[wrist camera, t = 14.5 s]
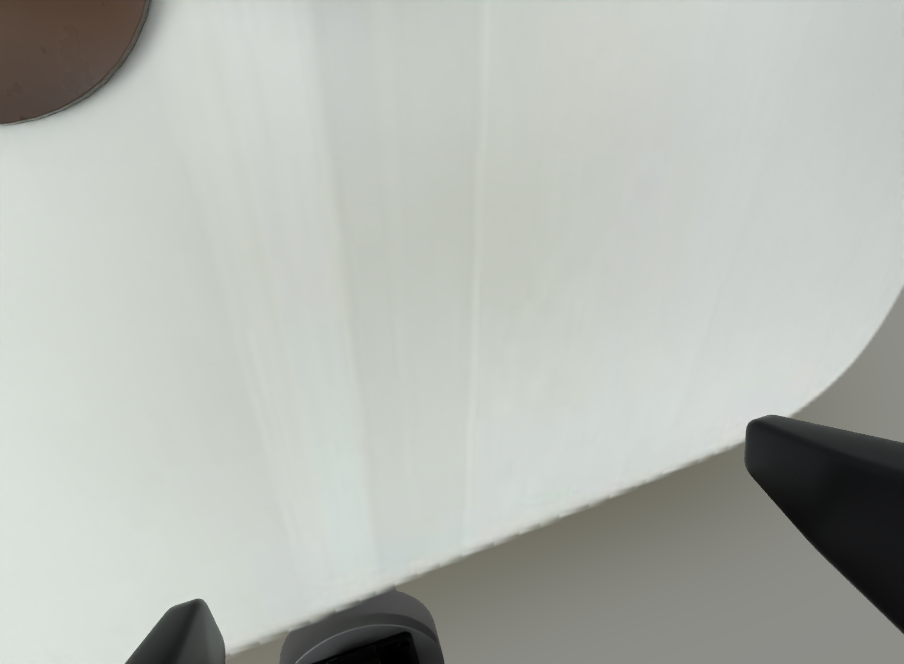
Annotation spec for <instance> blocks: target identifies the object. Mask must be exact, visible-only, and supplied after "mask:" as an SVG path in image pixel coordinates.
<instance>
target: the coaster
mask: <svg viewBox="0 0 904 664" xmlns="http://www.w3.org/2000/svg"><path fill="white" fill-rule="evenodd" d="M149 3H150V0H0V125H10V124H17V123H22V122H27V121H32V120H36V119H41V118H44V117H46V116H49V115H52V114H55V113H57V112H60V111H63V110H65V109H67V108H69V107H71V106H72V105H74V104H76V103H78V102H80V101H81V100H83V99H85V98H87V97H88V96H89V95H90V94H92V93H93V92H94V91H96V90H97V89H98V88H99V87H101V86H102V85H103V84H105V83H106V81H107V80H108V79H109V78H110V77H111V76H112V75H113V74H114V73H115V72H116V71H117V69H118V68H119V67H120V66H121V65H122V63H123V62H124V60H125V59H126V57H127V56H128V54H129V53H130V51H131V49H132V48H133V46H134V45H135V42H136V40H137V38H138V36H139V33H140V31H141V29H142V27H143V24H144V22H145V18H146V14H147V11H148V7H149Z"/></svg>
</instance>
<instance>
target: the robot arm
mask: <svg viewBox="0 0 904 664" xmlns="http://www.w3.org/2000/svg"><path fill="white" fill-rule="evenodd" d="M744 462H745V466H746V468H747V470H748V472H749V474H750V475H751V476H752V477H753V478H754V480H755V481H756V482H757V483H758V484H759V485H760V486H761V488H762V489H763V490H764V491H765V492H766V493H767V494H768V496H769V497H770V498H771V499H772V500H773V501H774V502H775V503H776V504H777V506H778V507H779V508H780V509H781V510H782V511H783V513H784V514H785V515H786V516H787V517H788V518H789V519H790V521H791V522H792V523H793V524H794V525H795V526H796V527H797V529H798V530H799V531H800V532H801V533H802V534H803V535H804V537H805V538H806V539H807V540H808V541H809V542H810V543H811V544H812V545H813V546H814V547H815V549H817V550H818V552H820V554H821V555H822V556H823V557H824V558H825V559H826V560H827V561H828V562H829V563H831V564H832V565H833V566H834V567H835V568H836V569H837V570H838V571H839V572H840V573H841V574H842V575H843V576H844V577H845V578H846V579H847V580H848V581H849V582H850V583H851V584H852V585H853V586H854V587H856V589H857V590H858V591H860V592H861V593H862V594H863V595H864V596H865V597H866V598H867V599H868V600H869V601H870V602H871V603H872V604H873V605H874V606H875V607H876V608H877V609H878V610H879V611H880V612H881V613H882V614H883V615H884V616H886V617H887V619H888V620H890V621H891V622H892V623H893V624H894V625H895V626H896V627H897V628H898V629H899V630H900V631H901V632H902V633H903V634H904V443H901V442H897V441H892V440H888V439H883V438H879V437H874V436H869V435H865V434H860V433H855V432H850V431H846V430H842V429H837V428H833V427H828V426H823V425H819V424H814V423H810V422H805V421H800V420H796V419H791V418H787V417H782V416H777V415H767V416H764V417H761V418H758V419H754V420H752V421H750V422H749V423H748V425H747V427H746V438H745V454H744ZM125 664H225V645H224V640H223V637H222V635H221V633H220V631H219V628H218V626H217V624H216V622H215V620H214V618H213V616H212V614H211V612H210V610H209V608H208V606H207V604H206V602H205V601H204V600H202V599H194V600H191V601H188V602H185V603H182V604H179V605H176V606H174V607H172V608H170V609H169V610H168V611H167V612H166V613H165V614H164V615H163V617H162V618H161V619H160V620H159V622H158V623H157V624H156V625H155V627H154V628H153V629H152V630H151V632H150V633H149V634H148V635H147V637H146V638H145V639H144V640H143V642H142V643H141V644H140V645H139V647H138V648H137V649H136V650H135V652H134V653H133V654H132V655H131V657H130V658H129V659H128V660H127V662H126V663H125ZM312 664H420V663H419V659H418V655H417V651H416V648H415V644H414V640H413V636H412V634H411V633H410V632H407V631H404V632H400V633H397V634H395V635H392V636H389V637H386V638H383V639H380V640H377V641H375V642H372V643H369V644H366V645H363V646H360V647H357V648H355V649H352V650H349V651H346V652H343V653H340V654H337V655H335V656H332V657H329V658H326V659H323V660H320V661H317V662H315V663H312Z"/></svg>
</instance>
